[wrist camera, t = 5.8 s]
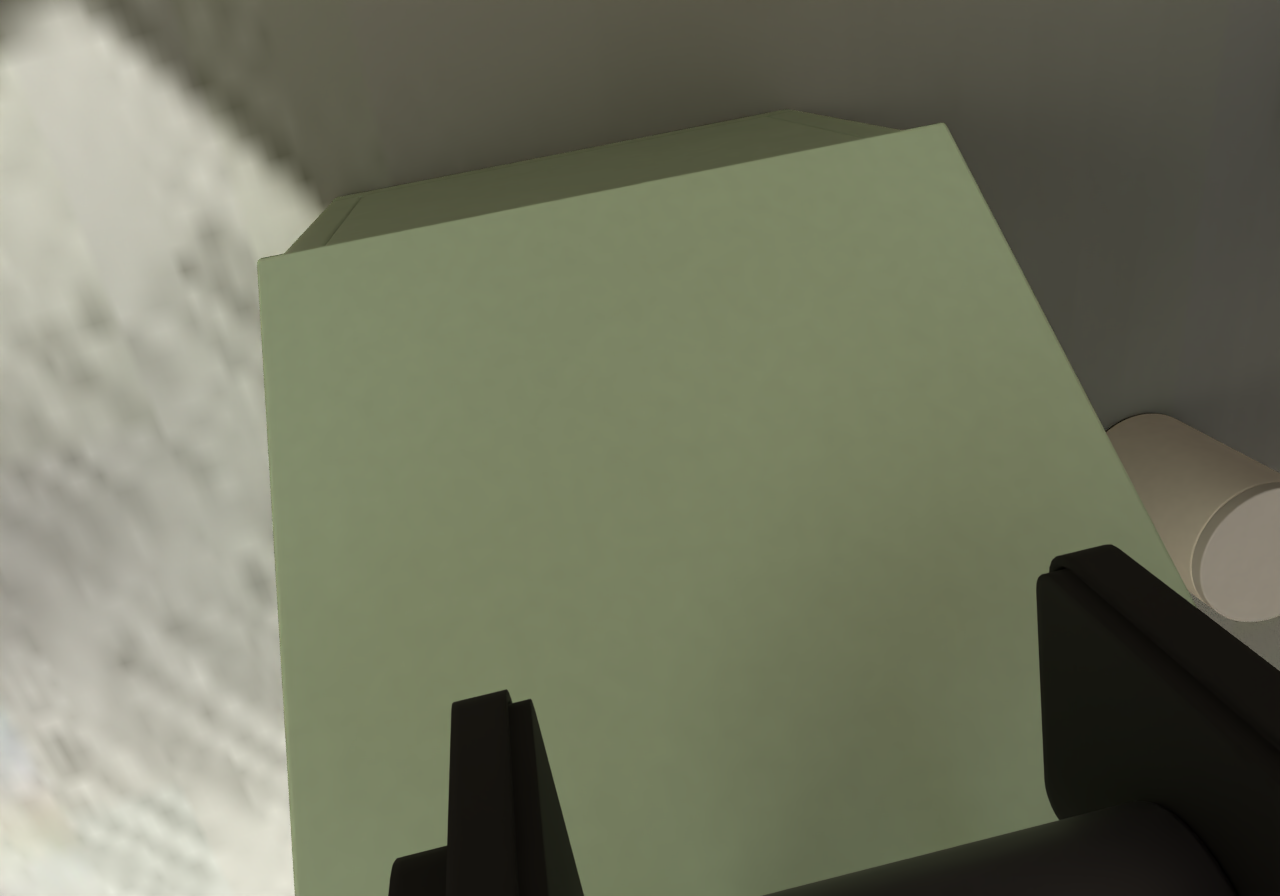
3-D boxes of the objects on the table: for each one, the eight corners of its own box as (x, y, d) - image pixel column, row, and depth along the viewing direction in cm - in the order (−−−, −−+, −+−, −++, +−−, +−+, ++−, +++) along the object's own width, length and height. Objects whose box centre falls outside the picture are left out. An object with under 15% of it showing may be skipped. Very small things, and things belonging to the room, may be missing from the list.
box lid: (1407, 1088, 12) (1913, 1129, 7) (346, 1386, 11) (69, 1675, 6) (935, 152, 19) (1022, -151, 14) (271, 286, 18) (117, 13, 13)
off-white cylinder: (1198, 400, 33) (1346, 472, 27) (1194, 514, 34) (1334, 604, 29) (1077, 427, 32) (1202, 505, 27) (1079, 541, 34) (1198, 637, 28)
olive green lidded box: (841, 570, 33) (971, 753, 24) (463, 657, 32) (459, 880, 23) (788, 108, 28) (930, 134, 19) (334, 197, 27) (268, 267, 18)
